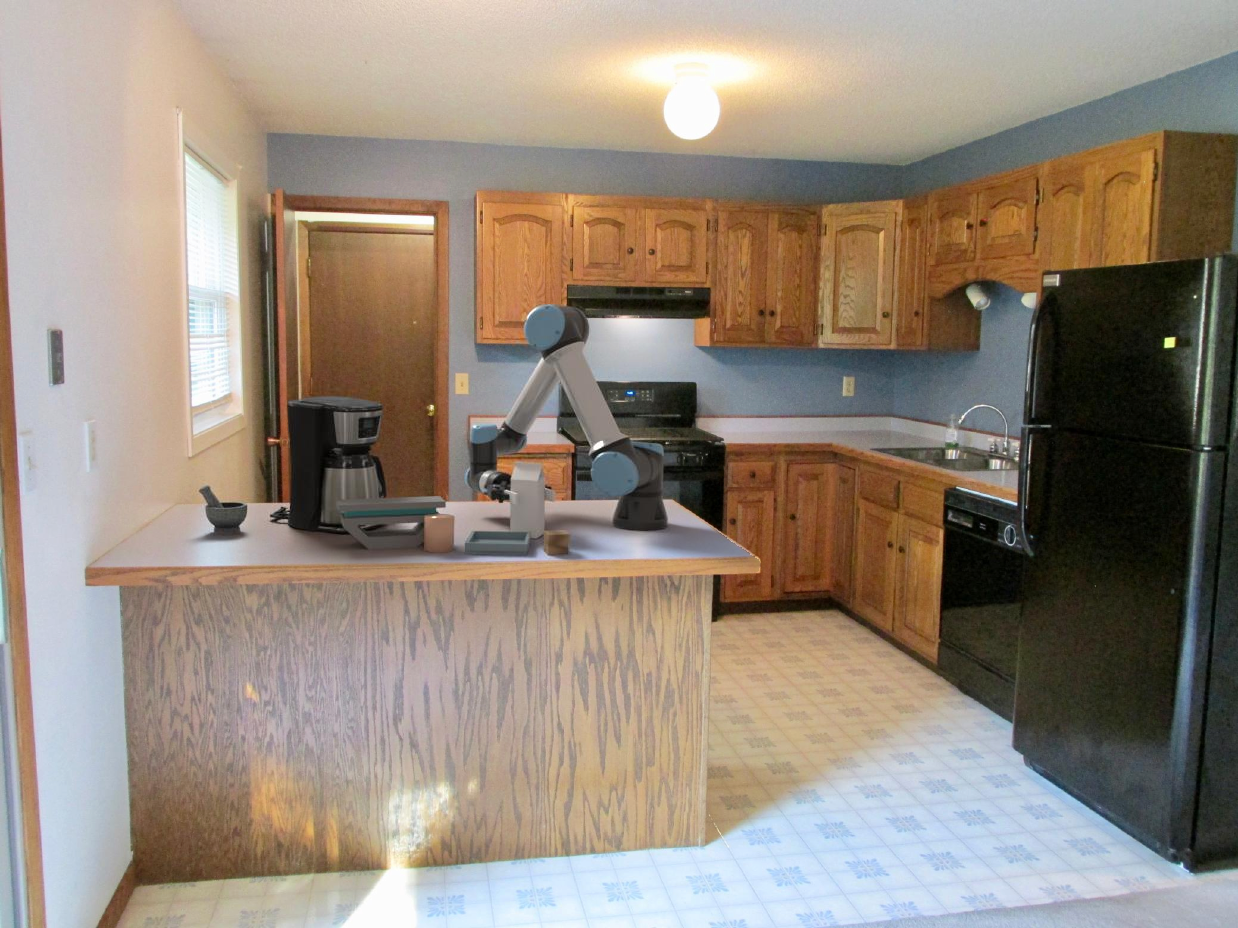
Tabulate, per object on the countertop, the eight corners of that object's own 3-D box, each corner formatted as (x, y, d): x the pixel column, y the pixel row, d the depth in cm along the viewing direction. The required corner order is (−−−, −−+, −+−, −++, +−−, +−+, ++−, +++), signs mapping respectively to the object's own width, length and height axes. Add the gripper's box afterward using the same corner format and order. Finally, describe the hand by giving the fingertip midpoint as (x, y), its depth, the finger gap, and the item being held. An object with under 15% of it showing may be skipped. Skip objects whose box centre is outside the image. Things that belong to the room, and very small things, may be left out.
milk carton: (536, 539, 250) (537, 464, 248) (509, 537, 252) (510, 463, 249) (544, 533, 257) (545, 461, 255) (518, 532, 258) (519, 460, 256)
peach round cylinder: (456, 546, 239) (456, 514, 238) (450, 553, 232) (451, 519, 231) (427, 545, 239) (427, 513, 238) (421, 551, 232) (421, 518, 231)
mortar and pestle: (249, 527, 255) (248, 481, 253) (245, 535, 246) (244, 487, 244) (202, 529, 252) (201, 482, 250) (197, 536, 243) (195, 488, 241)
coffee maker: (370, 536, 249) (369, 402, 244) (245, 531, 251) (242, 398, 246) (396, 519, 271) (395, 397, 267) (281, 515, 273) (279, 393, 269)
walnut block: (563, 550, 239) (564, 529, 238) (568, 554, 234) (569, 534, 233) (543, 551, 237) (543, 530, 237) (548, 555, 233) (548, 534, 232)
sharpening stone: (439, 538, 248) (439, 496, 246) (445, 545, 240) (445, 501, 239) (336, 543, 239) (335, 499, 238) (339, 550, 232) (338, 505, 230)
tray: (530, 541, 247) (530, 531, 246) (527, 554, 232) (527, 544, 232) (471, 540, 246) (472, 530, 246) (464, 553, 232) (464, 542, 231)
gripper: (535, 496, 274) (574, 509, 256) (459, 501, 263) (494, 515, 244) (535, 469, 273) (574, 480, 255) (459, 473, 262) (494, 485, 243)
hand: (535, 497), depth 249 cm, fingers closed on milk carton, 10 cm apart
